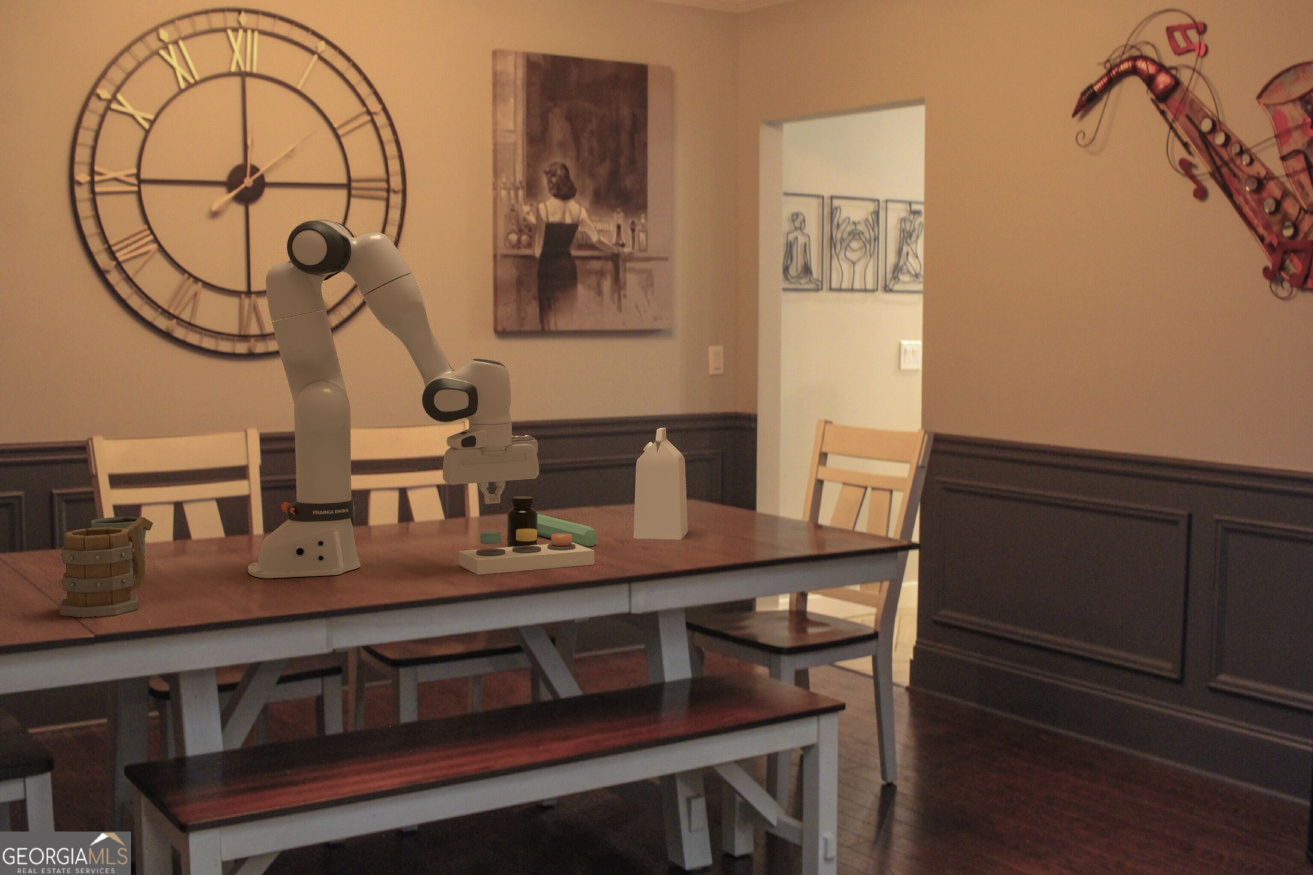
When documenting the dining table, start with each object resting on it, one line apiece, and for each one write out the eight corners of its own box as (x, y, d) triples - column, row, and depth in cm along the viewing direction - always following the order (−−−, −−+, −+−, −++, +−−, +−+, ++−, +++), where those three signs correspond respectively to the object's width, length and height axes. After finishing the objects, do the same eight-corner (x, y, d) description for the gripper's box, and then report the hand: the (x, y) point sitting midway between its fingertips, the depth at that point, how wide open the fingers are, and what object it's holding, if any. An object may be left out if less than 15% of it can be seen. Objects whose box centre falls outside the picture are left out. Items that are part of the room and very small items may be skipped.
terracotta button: (556, 546, 271) (555, 537, 271) (548, 543, 275) (548, 534, 275) (575, 544, 273) (575, 535, 273) (566, 541, 277) (566, 532, 277)
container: (597, 521, 294) (539, 507, 314) (578, 532, 291) (519, 518, 311) (605, 543, 296) (546, 528, 316) (585, 555, 293) (527, 539, 313)
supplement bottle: (532, 552, 286) (532, 499, 285) (503, 551, 287) (502, 498, 286) (541, 547, 292) (541, 495, 291) (512, 546, 294) (512, 494, 293)
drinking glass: (89, 585, 248) (87, 524, 247) (96, 575, 258) (94, 516, 257) (145, 582, 251) (143, 522, 250) (150, 573, 260) (149, 514, 259)
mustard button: (520, 541, 268) (520, 532, 268) (513, 538, 272) (513, 529, 271) (540, 540, 270) (540, 530, 270) (532, 537, 274) (532, 528, 273)
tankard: (99, 620, 218) (96, 533, 217) (43, 614, 223) (40, 528, 222) (182, 597, 237) (180, 517, 235) (129, 592, 241) (127, 513, 240)
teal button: (484, 544, 264) (484, 535, 264) (477, 541, 268) (477, 532, 268) (504, 543, 266) (504, 533, 266) (497, 539, 270) (497, 530, 270)
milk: (681, 539, 305) (681, 430, 303) (633, 538, 307) (633, 430, 304) (687, 531, 317) (688, 427, 314) (641, 530, 318) (642, 426, 316)
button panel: (477, 574, 260) (477, 557, 260) (458, 565, 270) (458, 548, 270) (594, 564, 272) (594, 547, 271) (571, 555, 282) (571, 539, 282)
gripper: (531, 433, 273) (533, 497, 274) (439, 438, 263) (441, 505, 265) (542, 435, 267) (544, 501, 268) (448, 440, 258) (450, 508, 259)
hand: (492, 503), depth 266 cm, fingers closed
